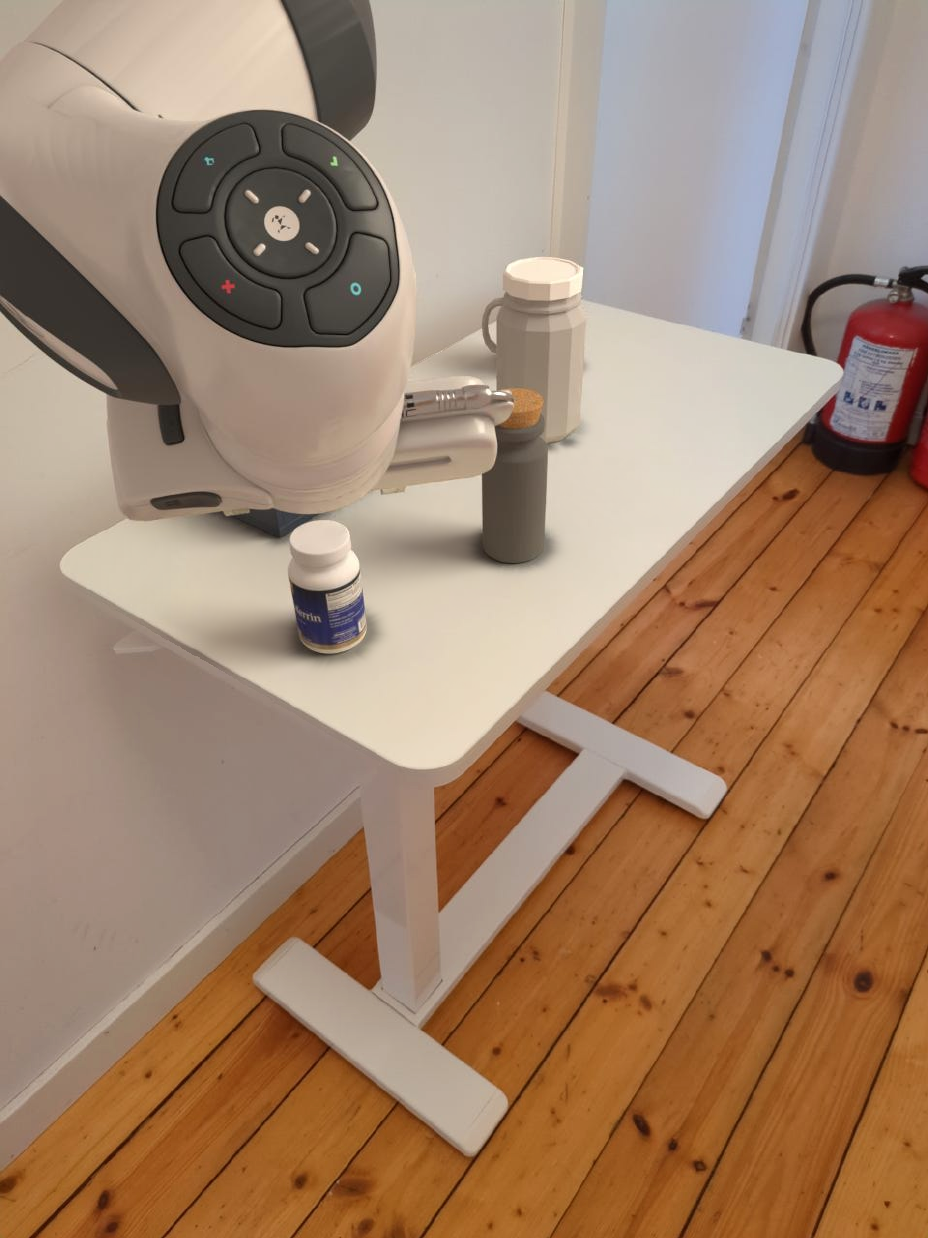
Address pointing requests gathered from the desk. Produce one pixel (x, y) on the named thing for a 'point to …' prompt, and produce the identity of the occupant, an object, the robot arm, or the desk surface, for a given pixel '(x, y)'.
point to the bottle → (517, 484)
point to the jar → (543, 338)
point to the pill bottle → (326, 587)
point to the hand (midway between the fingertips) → (314, 491)
